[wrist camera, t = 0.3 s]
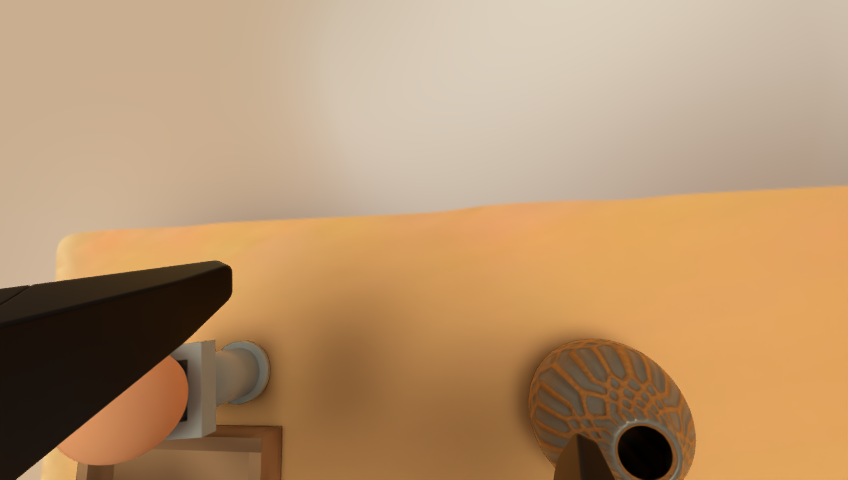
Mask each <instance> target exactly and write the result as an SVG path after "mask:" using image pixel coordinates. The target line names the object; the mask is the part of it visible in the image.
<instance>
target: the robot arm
mask: <svg viewBox="0 0 848 480" xmlns="http://www.w3.org/2000/svg"><path fill="white" fill-rule="evenodd" d="M231 295H232V269H231V267H230V266H228V265H226V264H224V263H222V262H220V261H207V262H200V263H192V264H185V265H177V266H170V267H162V268H155V269H147V270H140V271H132V272H124V273H117V274H109V275H102V276H94V277H87V278H79V279H72V280H64V281H57V282H49V283H42V284H35V285H32V286H28V285H26V286H18V287H12V288H3V289H0V480H16V479H17V478H18V477H20V476H21V475H22V474H23V473H25V472H26V471H27V470H28V469H29V468H31V467H32V466H33V465H35V464H36V463H37V462H38V461H39V460H41V459H42V458H43V457H44V456H46V455H47V454H48V453H49V452H51V451H52V450H53V449H54V448H55V447H57V446H58V445H59V444H60V443H62V442H63V441H64V440H65V439H67V438H68V437H69V436H70V435H71V434H73V433H74V432H75V431H76V430H78V429H79V428H80V427H81V426H83V425H84V424H85V423H86V422H87V421H89V420H90V419H91V418H92V417H94V416H95V415H96V414H97V413H99V412H100V411H101V410H102V409H103V408H105V407H106V406H107V405H108V404H110V403H111V402H112V401H113V400H115V399H116V398H117V397H118V396H119V395H121V394H122V393H123V392H124V391H126V390H127V389H128V388H129V387H131V386H132V385H133V384H134V383H135V382H137V381H138V380H139V379H140V378H142V377H143V376H144V375H145V374H147V373H148V372H149V371H150V370H151V369H153V368H154V367H155V366H156V365H158V364H159V363H160V362H161V361H163V360H164V359H165V358H166V357H167V356H169V355H170V354H171V353H172V352H174V351H175V350H176V349H177V348H178V347H180V346H181V345H182V344H183V343H184V342H185V341H186V340H188V339H189V338H190V337H191V336H192V335H193V334H194V333H195V332H196V331H197V330H198V329H199V328H200V327H201V326H202V325H203V324H204V323H205V322H206V321H207V320H208V319H209V318H210V317H211V316H212V315H213V314H214V313H216V312H217V311H218V310H219V309H220V308H221V307H222V306H223V305H224V304H225V303H226V302H227V301H228V300H229V298H230V297H231ZM553 480H616V479H615V477H614V475H613V473H612V471H611V469H610V467H609V465H608V463H607V461H606V459H605V457H604V455H603V453H602V451H601V449H600V447H599V445H598V443H597V442H596V441H595V440H594V439H592V438H589V437H587V436H585V435H583V434H581V433H578V432H576V433H574V434H573V435H572V437H571V438H570V440H569V441H568V443H567V444H566V446H565V447H564V449H563V450H562V452H561V453H560V455H559V457H558V460H557V463H556V468H555V474H554V479H553Z"/></svg>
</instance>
